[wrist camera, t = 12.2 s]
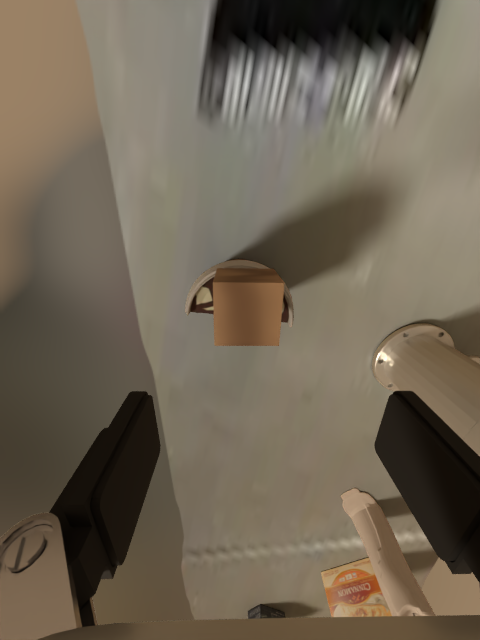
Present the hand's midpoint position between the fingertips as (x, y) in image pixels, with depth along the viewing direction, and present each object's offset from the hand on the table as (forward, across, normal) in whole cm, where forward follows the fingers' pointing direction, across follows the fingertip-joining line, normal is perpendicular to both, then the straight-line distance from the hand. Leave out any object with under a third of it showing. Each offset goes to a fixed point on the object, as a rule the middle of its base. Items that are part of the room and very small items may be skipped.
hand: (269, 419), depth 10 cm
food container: (+27, +1, 0) cm, 27 cm away
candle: (+27, -27, +54) cm, 66 cm away
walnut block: (+16, 0, 0) cm, 16 cm away
